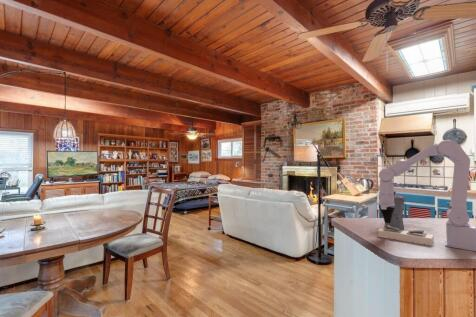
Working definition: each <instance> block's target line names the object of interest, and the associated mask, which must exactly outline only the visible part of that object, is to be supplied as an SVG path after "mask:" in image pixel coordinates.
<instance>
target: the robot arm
mask: <svg viewBox="0 0 476 317" xmlns="http://www.w3.org/2000/svg"><path fill="white" fill-rule="evenodd" d="M438 155H440V156H442V157H445V158H447V159H448V160H449V161H451V162H452V163H453V164H454V165H453V172H452V173H453V175H452V185H451V196H450V201H449V207H448V209H447V210H446V211H445V215H446V217H447V218H448V220H447V221H446V222H445V228H446V232H445V233H446V241H445V244H444V246H445V247H447V248H456V249H461V250H466V251H472V252H473V251H474V252H476V226H471V225H470V223H469V222H470V216H469V214H468V208H467V207H468V206H467V197H468V187H469V178H470V168H471V167H470V166H471V158H470V157H469V155H468V154H467V152H466V151H465V150H464V149H463V148H462V146H461V144H459V143H457V142H456V141H454V140H450V139H444V140H442V141H440V142H439V143H435V144H432V145H430V146H428V147H426V148H424V149H423V150H421V151H419V152H418V153H416V154H414V155H413V156H411V157H408V158H407V159H397V160H395V163H392V164H390V165H387V166H386V167H385V168H382V169H381V170H380V171H379V173H378V177H379V202H377V205H380V207H379V211H380V212H381V214H382V217H383V220H384V224H385V223H391V219H392V214H393V212H394V210H395V208H393V207H391V206H395V204H394V191H395V185H394V177H399V176H401V175H403V174H404V173H406V172H408V171H410V170H411V166H413V165H415V164H416V163H419V162H420V161H422V160H424V159H427V158H428V157H433V156H438Z"/></svg>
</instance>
